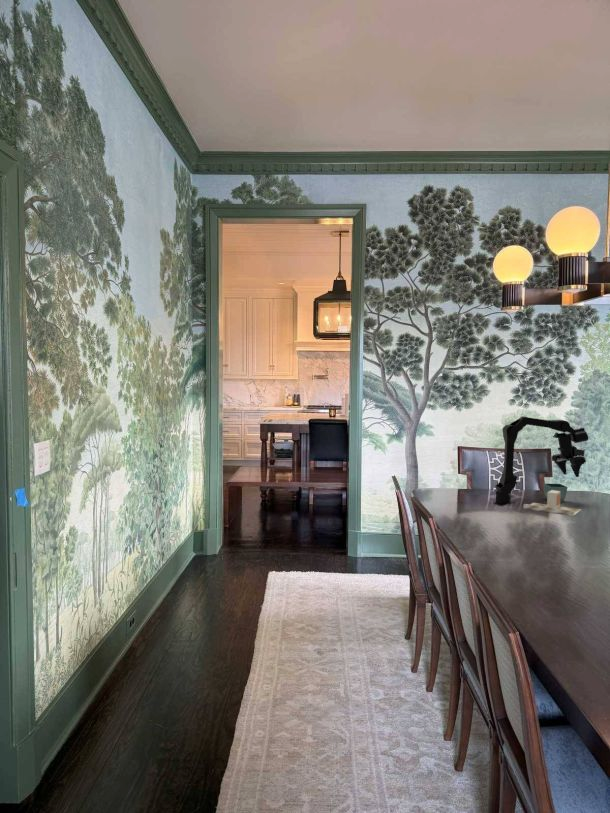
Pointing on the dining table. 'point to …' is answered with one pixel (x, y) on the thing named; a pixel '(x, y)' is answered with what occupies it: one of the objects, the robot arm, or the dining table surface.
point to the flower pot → (555, 487)
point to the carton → (553, 499)
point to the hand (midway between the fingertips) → (571, 475)
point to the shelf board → (551, 509)
